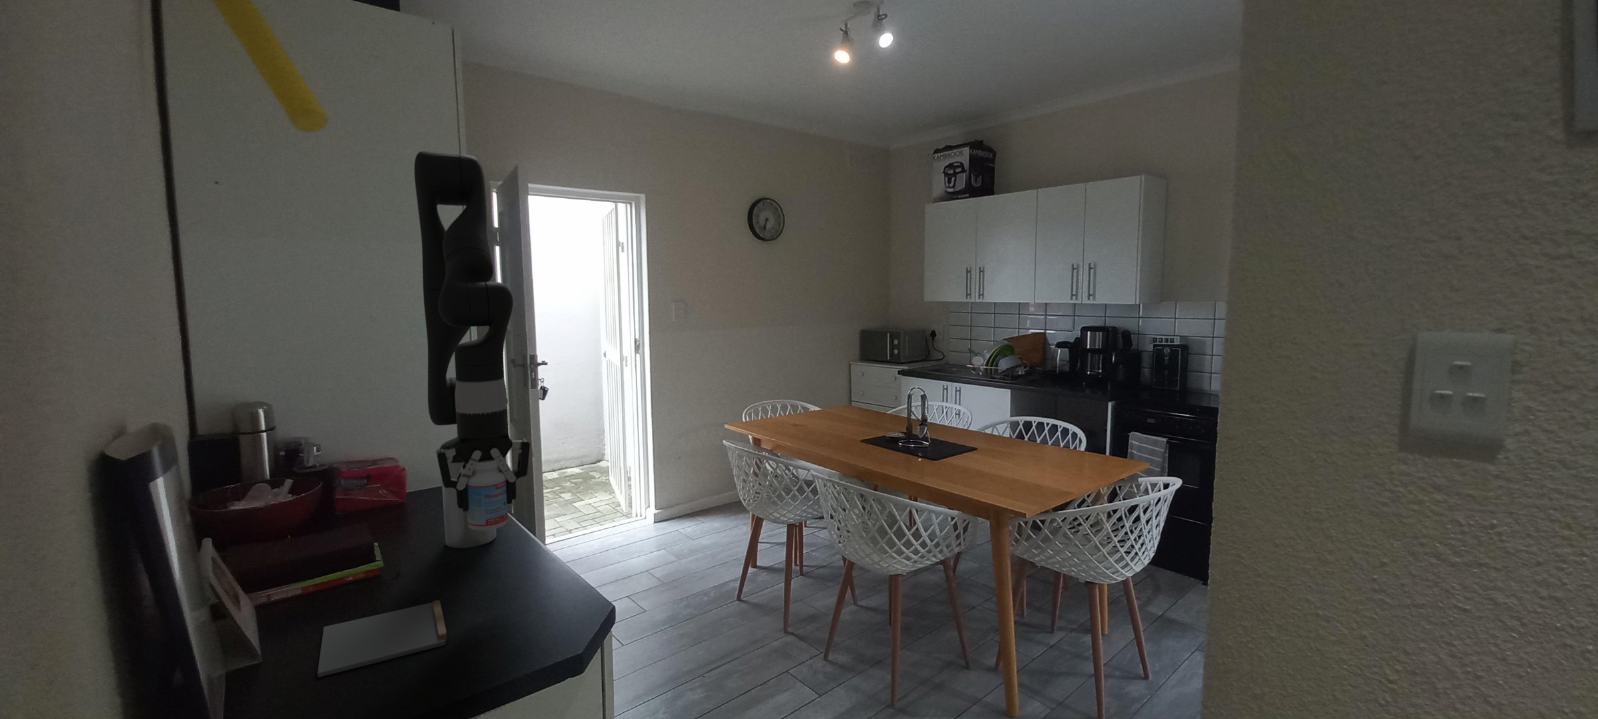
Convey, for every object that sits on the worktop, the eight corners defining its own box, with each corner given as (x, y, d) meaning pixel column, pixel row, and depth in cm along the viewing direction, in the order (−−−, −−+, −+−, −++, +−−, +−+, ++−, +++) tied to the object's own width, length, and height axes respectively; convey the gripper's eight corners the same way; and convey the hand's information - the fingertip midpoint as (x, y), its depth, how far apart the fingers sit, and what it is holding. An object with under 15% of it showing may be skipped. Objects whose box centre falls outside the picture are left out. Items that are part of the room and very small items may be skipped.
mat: (324, 630, 100) (323, 626, 100) (437, 604, 108) (437, 601, 108) (317, 677, 88) (317, 673, 88) (445, 644, 96) (445, 640, 96)
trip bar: (433, 608, 107) (432, 601, 107) (440, 607, 108) (439, 599, 107) (439, 643, 97) (438, 635, 97) (447, 641, 97) (446, 633, 97)
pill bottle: (492, 533, 107) (489, 465, 105) (459, 529, 108) (455, 462, 106) (516, 519, 113) (513, 455, 111) (484, 516, 114) (480, 452, 112)
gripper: (524, 398, 115) (529, 492, 117) (429, 406, 107) (435, 507, 109) (533, 406, 108) (537, 505, 111) (433, 415, 101) (439, 522, 103)
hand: (487, 505), depth 110 cm, fingers closed on pill bottle, 6 cm apart
